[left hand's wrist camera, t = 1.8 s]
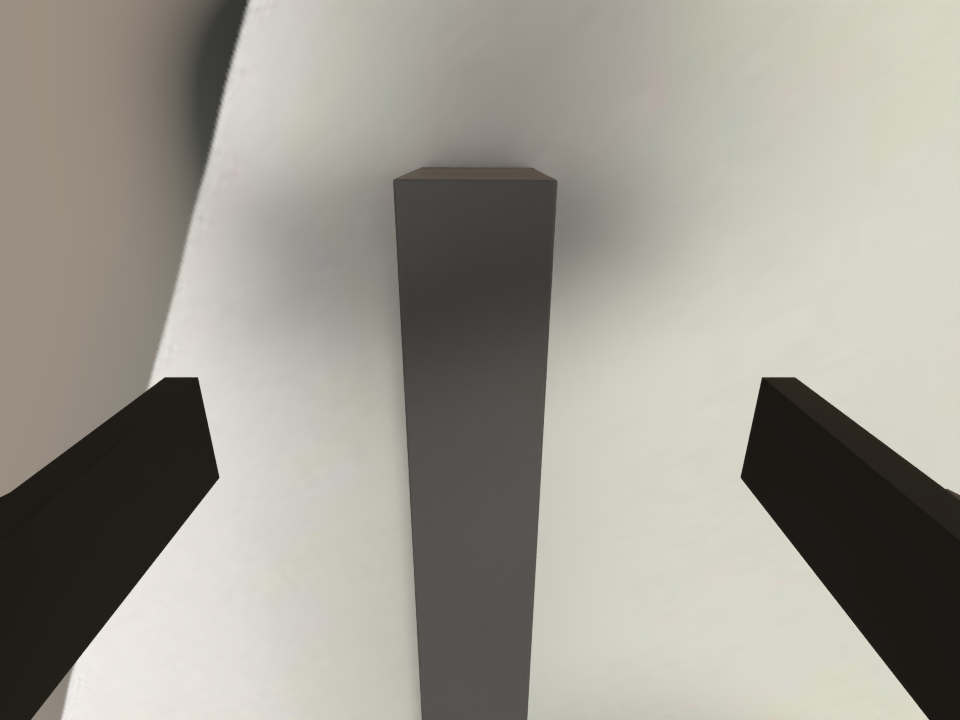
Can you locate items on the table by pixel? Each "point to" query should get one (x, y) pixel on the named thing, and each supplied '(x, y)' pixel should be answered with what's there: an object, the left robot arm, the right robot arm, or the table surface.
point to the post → (474, 424)
